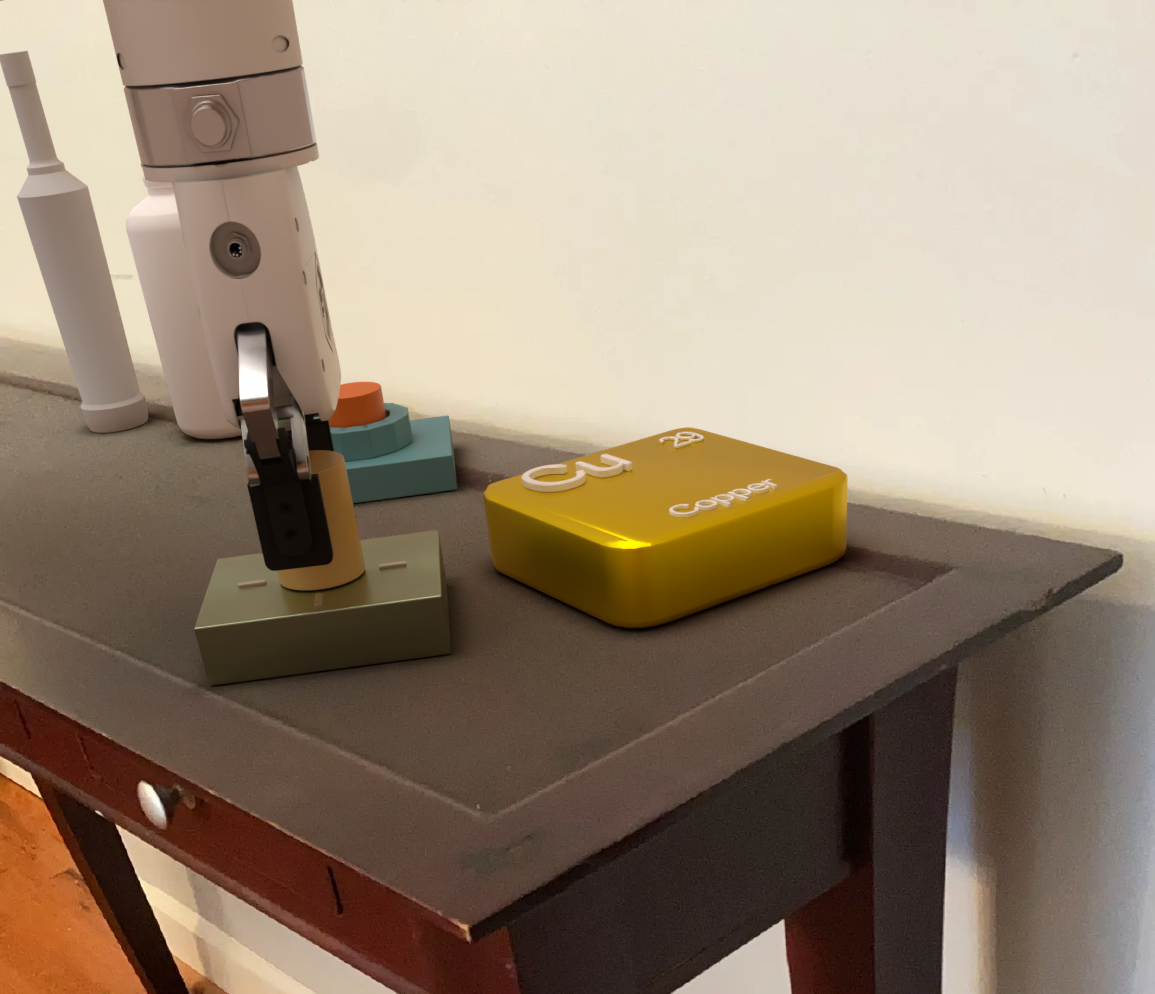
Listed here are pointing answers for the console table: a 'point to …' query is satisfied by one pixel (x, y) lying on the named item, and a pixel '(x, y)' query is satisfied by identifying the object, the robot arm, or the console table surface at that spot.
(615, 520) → the element tile
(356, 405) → the button
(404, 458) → the button base
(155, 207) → the potion bottle
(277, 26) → the robot arm
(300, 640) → the panel
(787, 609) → the console table surface
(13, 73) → the bottle
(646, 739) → the console table surface
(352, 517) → the knob
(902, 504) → the console table surface
